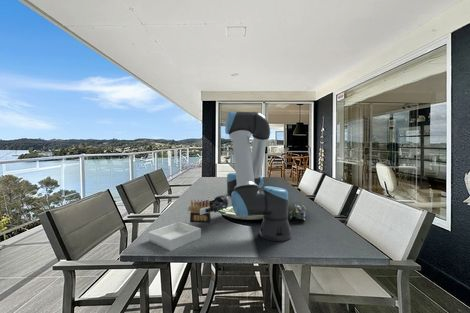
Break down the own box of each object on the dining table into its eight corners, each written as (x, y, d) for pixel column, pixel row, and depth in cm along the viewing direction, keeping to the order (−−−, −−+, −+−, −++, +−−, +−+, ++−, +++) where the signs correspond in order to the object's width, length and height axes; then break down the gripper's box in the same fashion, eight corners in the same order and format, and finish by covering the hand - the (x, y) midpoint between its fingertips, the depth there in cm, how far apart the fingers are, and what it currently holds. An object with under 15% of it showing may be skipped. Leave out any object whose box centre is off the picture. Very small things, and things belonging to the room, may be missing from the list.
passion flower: (303, 229, 145) (310, 216, 138) (284, 226, 145) (291, 213, 137) (300, 213, 154) (307, 200, 146) (283, 210, 153) (289, 197, 146)
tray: (201, 237, 119) (200, 228, 119) (170, 250, 106) (170, 240, 105) (179, 230, 129) (179, 221, 129) (148, 241, 115) (148, 231, 115)
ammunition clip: (190, 222, 132) (189, 199, 132) (191, 221, 134) (190, 198, 134) (210, 223, 131) (209, 200, 130) (210, 222, 133) (210, 199, 132)
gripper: (237, 211, 140) (209, 221, 122) (209, 205, 153) (179, 214, 136) (237, 198, 139) (209, 206, 122) (209, 193, 153) (179, 200, 135)
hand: (193, 210), depth 129 cm, fingers closed on ammunition clip, 9 cm apart
